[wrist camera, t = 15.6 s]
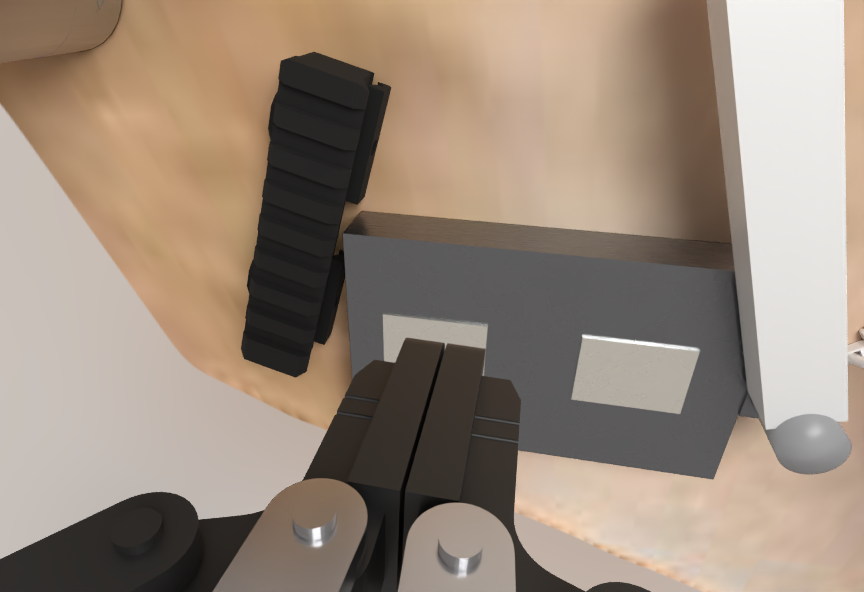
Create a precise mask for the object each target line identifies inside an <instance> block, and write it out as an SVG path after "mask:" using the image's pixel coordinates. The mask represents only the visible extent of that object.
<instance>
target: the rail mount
mask: <svg viewBox="0 0 864 592" xmlns="http://www.w3.org/2000/svg"><path fill="white" fill-rule="evenodd" d="M373 77H374V73H373V72H370V71H367V70H364V69H362V68H359V67H356V66H353V65H350V64H347V63H345V62H342V61H339V60H336V59H333V58H330V57H328V56H325V55H322V54H319V53H316V52H312V53H309V54H306V55H302V56H294V57H291V58H288V59H285V60H282V61H281V64H280V72H279V86H278V92H277V93H276V95H275V97H274V100H273V103H272V106H271V112H270V120H269V127H268V129H269V136H270V140H271V141H270V144H269V151H268V158H267V161H268V165H267V172H266V179H265V180H264V187H263V194H262V197H263V201H262V208H261V214H260V216H259V223H258V237H257V244H256V246H255V252H254V259H253V261H252V263H251V266H250V269H249V275H248V282H247V287H248V291H249V301H248V305H247V310H246V317H245V318H246V323H245V330H244V332H243V339H242V346H241V350H242V353H243V357H244V359H246V360H249V361H251V362H254V363H257V364H260V365H262V366H265V367H268V368H271V369H274V370H276V371H279V372H282V373H285V374H287V375H290V376H293V377H297V376H299V375H301V374H303V373H305V372H306V371H307V367H308V363H309V358H310V354H311V349H312V348H313V343H314V341H315V342H318V343H320V344H323V345H324V344H325V343H326V341H327V339H328V338H329V336H330V335H331V332H332V328H333V324H334V320H335V316H336V311H337V307H338V303H339V299H340V295H341V291H342V287H343V283H344V279H345V260H344V251H343V250H340V251H339V255H333V254H334V250H335V246H336V241H337V237H338V232H339V228H340V223H341V219H342V214H343V210H344V206H345V201H349V202H352V203H354V204H357V205H358V204H359V202H360V201H361V200H362V199H363V198H364V197H365V193H366V188H367V184H368V180H369V176H370V172H371V168H372V164H373V160H374V156H375V151H376V147H377V143H378V139H379V135H380V131H381V127H382V123H383V119H384V115H385V110H386V106H387V102H388V98H389V94H390V90H391V87H390V86H388V85H385V84H383V83H380V82H378V85H372V81H373Z"/></svg>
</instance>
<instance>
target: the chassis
mask: <svg viewBox="0 0 864 592" xmlns="http://www.w3.org/2000/svg"><path fill="white" fill-rule="evenodd" d="M343 244H344V260H345V275H346V291H347V306H348V322H349V337H350V353H351V368H352V380H353V378H354V376H355V374H357V373H358V372H359V371H360V370H362V369H363V368H364V367H366V366H367V365H368V364H369V363H371V362H372V361H373V360H380V361H387V362H393V363H395V362H396V359H397V357H398V354H399V352H400V350H401V347H402V345H403V342H404V340H405V338H406V337H407V338H414V339H421V340H428V341H435V342H442V343H445V348H446V345H447V343H450V344H457V345H464V346H470V347H477V348H484V349H486V352H485V361H484V369H483V376H487V377H493V378H500V379H507V380H511V382H512V384H513V386H514V388H515V390H516V392H517V394H518V395H519V397H520V399H521V409H520V423H519V440H518V450H520V451H527V452H534V453H540V454H547V455H554V456H560V457H567V458H574V459H580V460H587V461H594V462H600V463H607V464H614V465H620V466H627V467H634V468H640V469H647V470H654V471H661V472H667V473H674V474H681V475H687V476H694V477H701V478H707V479H714V477H715V474H716V471H717V469H718V466H719V463H720V461H721V458H722V456H723V453H724V450H725V448H726V445H727V442H728V440H729V437H730V435H731V432H732V429H733V427H734V424H735V421H736V419H737V416H738V414H739V416H745V417H752V418H758V416H757V414H756V411H755V409H754V407H753V403H752V399H751V397H750V395H749V393H748V391H747V381H746V372H745V362H744V353H743V343H742V334H741V324H740V315H739V305H738V296H737V287H736V277H735V268H734V258H733V249H732V244H728V243H717V242H706V241H694V240H683V239H672V238H661V237H649V236H638V235H627V234H616V233H604V232H593V231H582V230H571V229H559V228H548V227H537V226H526V225H514V224H503V223H492V222H481V221H469V220H458V219H447V218H436V217H424V216H413V215H402V214H391V213H379V212H368V211H361V212H360V213H359V215H358V216H357V217H356V218H355V219H354V221H353V222H352V223H351V224H350V225H349V227H348V228H347V229H346V230H345V231H344V233H343Z"/></svg>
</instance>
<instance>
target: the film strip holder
mask: <svg viewBox="0 0 864 592" xmlns="http://www.w3.org/2000/svg"><path fill="white" fill-rule="evenodd" d="M859 333H860V336H861V337H862V338H863V339H864V328H863V329H860V330H859ZM857 351H858V352H857ZM854 352H857V353H854ZM847 359H848V365H849V364H853V365H855V366H858V367H860V368H863V369H864V340H861V341H858V342H855V343H852V344H849V345H847Z"/></svg>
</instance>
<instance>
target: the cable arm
mask: <svg viewBox="0 0 864 592" xmlns="http://www.w3.org/2000/svg"><path fill="white" fill-rule="evenodd" d="M706 3H707V12H708V22H709V31H710V41H711V50H712V59H713V69H714V78H715V88H716V97H717V107H718V116H719V126H720V135H721V145H722V154H723V164H724V173H725V182H726V192H727V201H728V211H729V220H730V230H731V239H732V249H733V258H734V268H735V277H736V287H737V296H738V305H739V315H740V324H741V334H742V343H743V353H744V362H745V372H746V381H747V391H748V393H749V395H750V397H751V399H752V403H753V407H754V409H755V411H756V414H757V416H758V418H759V420H760V422H761V424H762V427H763V429H764V431H765V433H766V435H767V437H768V439H769V442H770V444H771V446H772V448H773V450H774V452H775V454H776V457H777V459H778V461H779V462H780V463H781V465H782V466H784V467H785V468H787V469H788V470H790V471H793V472H796V473H800V474H819V473H824V472H827V471H830V470H833V469H835V468H837V467H838V466H840V465H841V464H842V463H844V462H845V461H846V460H847V458H848V457H849V455H850V453H851V447H852V446H851V442H850V439H849V438H848V436H847V434H846V433H845V431H844V430H843V428H842V427H841V425H840V424H839V422H842V421H848V359H847V267H846V176H845V84H844V0H706Z"/></svg>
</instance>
